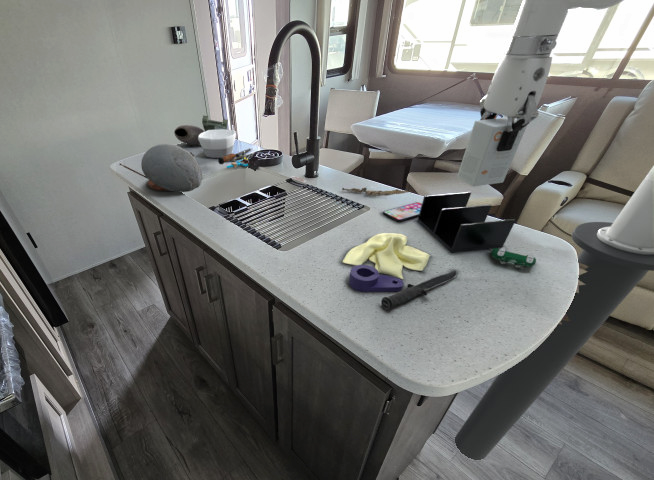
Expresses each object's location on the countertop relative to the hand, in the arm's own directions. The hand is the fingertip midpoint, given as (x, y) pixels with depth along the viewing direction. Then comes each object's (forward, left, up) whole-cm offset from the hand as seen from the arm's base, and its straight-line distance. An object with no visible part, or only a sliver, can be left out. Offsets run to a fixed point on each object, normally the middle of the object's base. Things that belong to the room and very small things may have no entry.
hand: (492, 145), depth 73 cm
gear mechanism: (+49, -74, -22) cm, 92 cm away
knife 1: (+58, -93, -23) cm, 112 cm away
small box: (0, 0, -8) cm, 8 cm away
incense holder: (+87, -63, -25) cm, 110 cm away
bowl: (+64, -97, -24) cm, 119 cm away
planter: (+83, -114, -17) cm, 142 cm away
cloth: (+22, +5, -24) cm, 34 cm away
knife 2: (+20, +19, -24) cm, 37 cm away
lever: (+29, +15, -25) cm, 41 cm away
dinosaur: (+49, -85, -21) cm, 100 cm away
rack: (-2, -3, -24) cm, 25 cm away
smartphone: (+5, -18, -24) cm, 31 cm away
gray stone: (+79, -57, -11) cm, 98 cm away
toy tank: (+64, -126, -14) cm, 142 cm away
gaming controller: (-6, +13, -25) cm, 28 cm away
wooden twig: (+8, -36, -23) cm, 44 cm away
